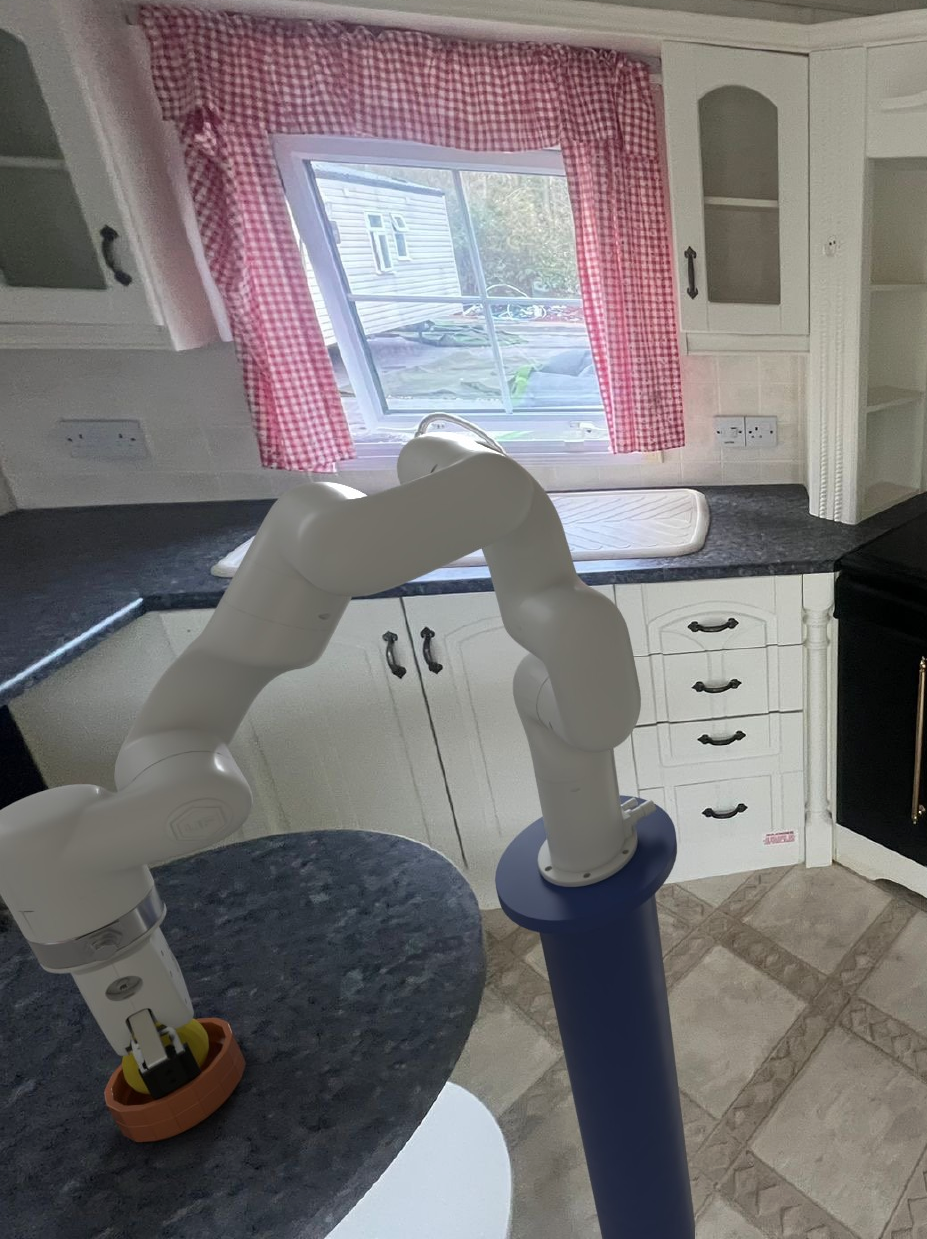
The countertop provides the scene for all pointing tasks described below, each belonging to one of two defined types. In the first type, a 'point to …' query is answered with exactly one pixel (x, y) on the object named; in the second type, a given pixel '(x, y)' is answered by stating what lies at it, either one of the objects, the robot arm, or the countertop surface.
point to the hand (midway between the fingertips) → (171, 1061)
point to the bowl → (179, 1091)
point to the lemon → (187, 1033)
